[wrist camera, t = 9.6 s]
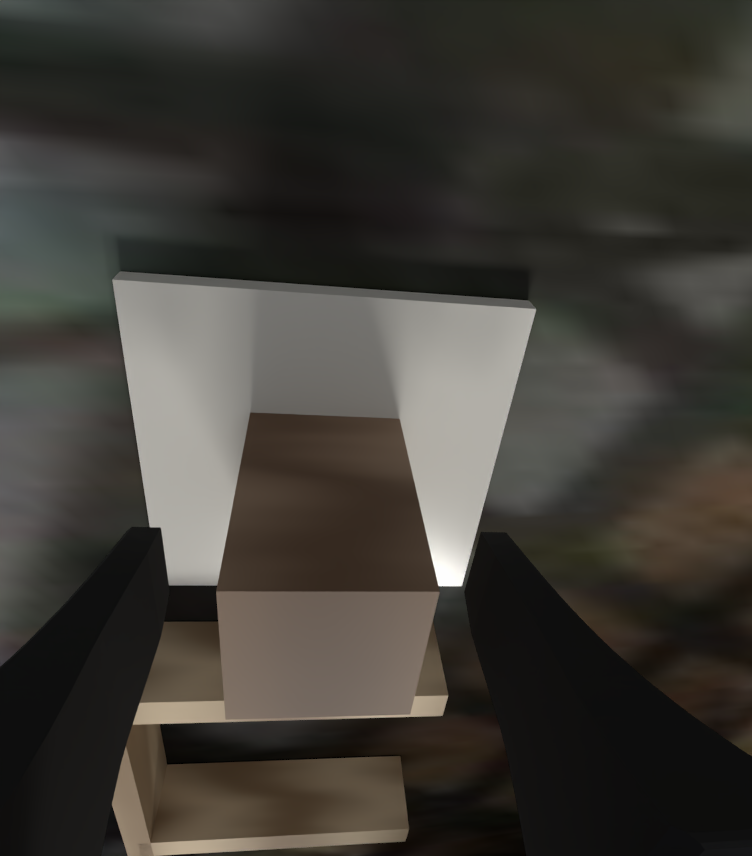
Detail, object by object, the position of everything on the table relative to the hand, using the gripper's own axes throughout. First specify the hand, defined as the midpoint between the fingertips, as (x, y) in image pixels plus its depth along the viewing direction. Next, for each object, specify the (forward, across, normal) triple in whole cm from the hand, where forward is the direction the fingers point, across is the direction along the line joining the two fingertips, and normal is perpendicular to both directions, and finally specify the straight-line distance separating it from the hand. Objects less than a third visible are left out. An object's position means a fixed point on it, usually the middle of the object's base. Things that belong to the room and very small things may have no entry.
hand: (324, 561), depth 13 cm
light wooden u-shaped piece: (+4, +1, +13) cm, 14 cm away
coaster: (+4, 0, 0) cm, 4 cm away
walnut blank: (+4, 0, 0) cm, 4 cm away
